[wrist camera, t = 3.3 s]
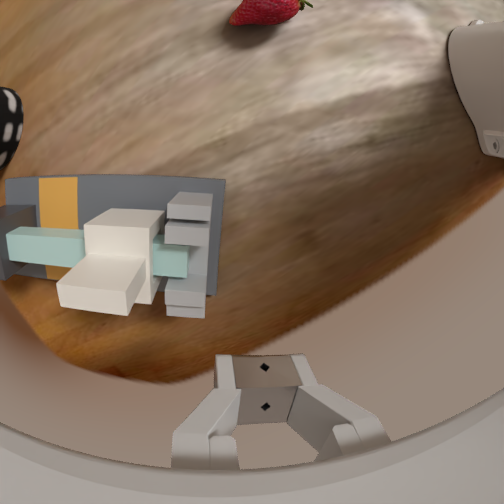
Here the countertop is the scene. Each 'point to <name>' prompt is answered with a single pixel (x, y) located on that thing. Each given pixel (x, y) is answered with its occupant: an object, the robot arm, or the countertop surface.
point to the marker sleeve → (114, 263)
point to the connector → (7, 221)
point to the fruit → (266, 11)
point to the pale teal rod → (73, 250)
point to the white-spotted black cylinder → (9, 124)
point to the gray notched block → (197, 236)
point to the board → (106, 197)
